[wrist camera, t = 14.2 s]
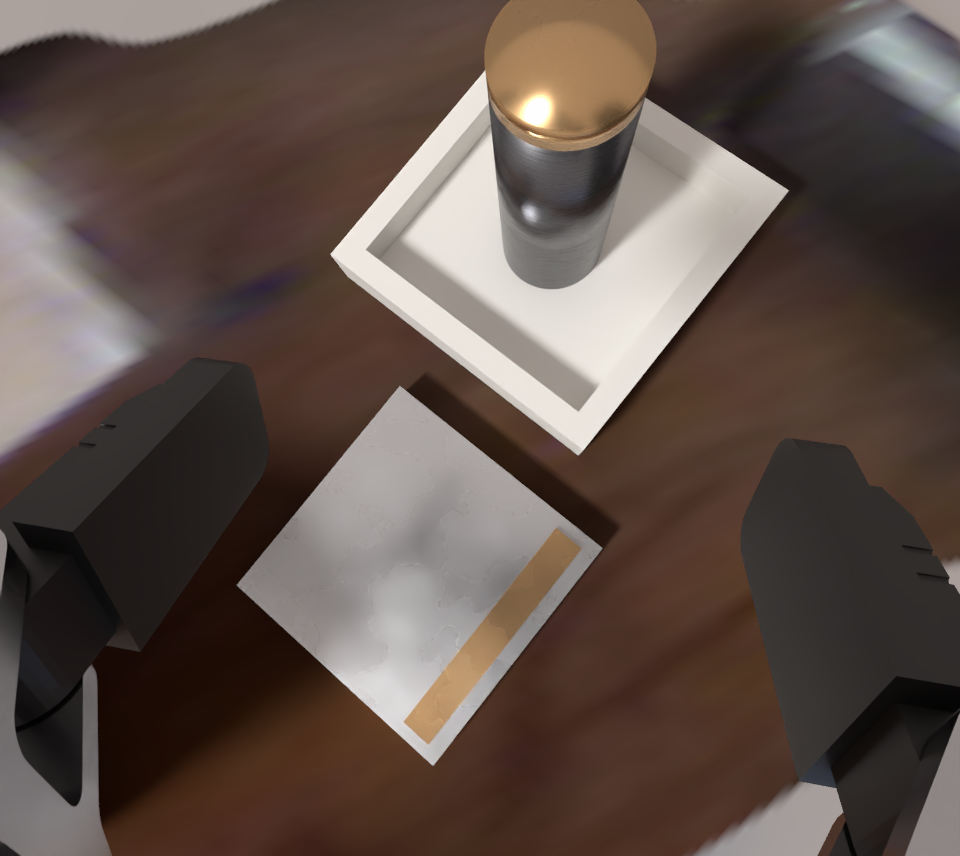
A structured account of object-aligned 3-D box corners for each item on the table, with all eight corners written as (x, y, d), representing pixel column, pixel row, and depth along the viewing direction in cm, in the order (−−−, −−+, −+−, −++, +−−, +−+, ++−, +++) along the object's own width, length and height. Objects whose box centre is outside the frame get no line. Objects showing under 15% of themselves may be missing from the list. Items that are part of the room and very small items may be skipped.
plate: (248, 581, 23) (234, 585, 22) (405, 391, 24) (399, 385, 23) (437, 754, 22) (432, 767, 21) (599, 546, 22) (603, 548, 21)
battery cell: (483, 251, 24) (450, 70, 14) (544, 177, 24) (554, -54, 14) (560, 308, 23) (584, 162, 13) (622, 232, 23) (691, 32, 13)
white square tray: (347, 276, 25) (330, 254, 23) (526, 62, 25) (526, 21, 23) (578, 455, 23) (583, 450, 21) (765, 219, 24) (788, 190, 21)
